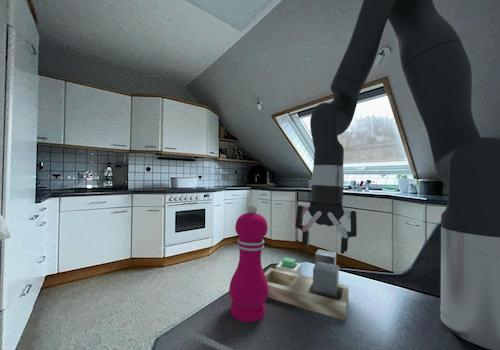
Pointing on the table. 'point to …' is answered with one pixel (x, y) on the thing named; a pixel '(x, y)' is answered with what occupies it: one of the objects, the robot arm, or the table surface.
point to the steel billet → (325, 257)
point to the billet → (326, 280)
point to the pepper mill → (249, 269)
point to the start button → (289, 262)
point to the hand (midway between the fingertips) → (323, 249)
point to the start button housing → (296, 270)
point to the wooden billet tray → (305, 293)
